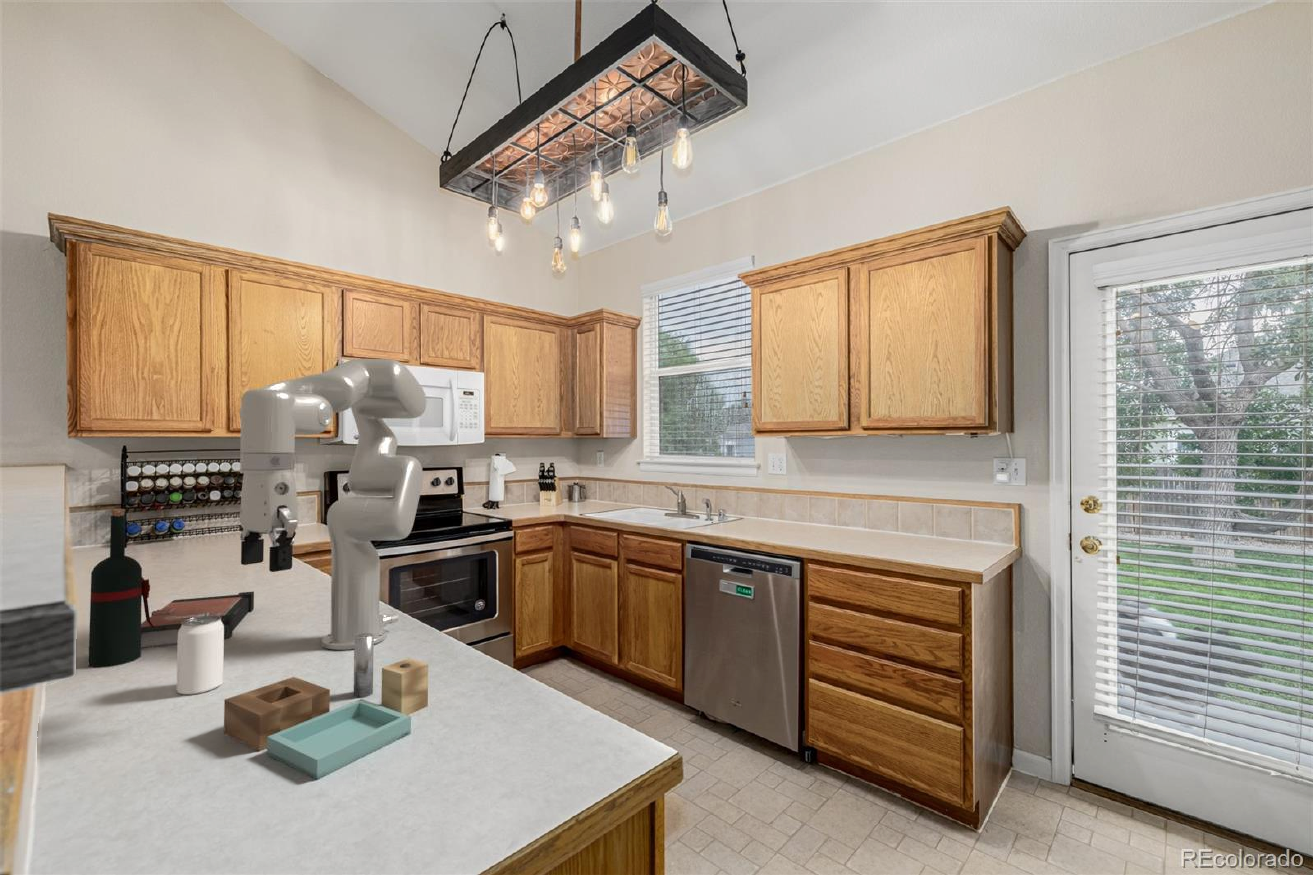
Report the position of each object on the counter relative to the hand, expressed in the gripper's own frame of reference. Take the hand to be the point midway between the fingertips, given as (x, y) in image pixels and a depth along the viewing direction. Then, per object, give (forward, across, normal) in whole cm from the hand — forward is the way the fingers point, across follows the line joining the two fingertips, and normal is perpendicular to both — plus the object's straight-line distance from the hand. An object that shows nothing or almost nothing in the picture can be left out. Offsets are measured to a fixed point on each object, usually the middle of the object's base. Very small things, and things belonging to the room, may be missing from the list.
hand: (266, 566), depth 96 cm
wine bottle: (+23, +47, +5) cm, 52 cm away
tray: (+23, -23, 0) cm, 32 cm away
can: (+23, +17, +3) cm, 29 cm away
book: (+24, +58, -11) cm, 64 cm away
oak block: (+23, -20, -12) cm, 33 cm away
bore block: (+23, -10, +2) cm, 25 cm away
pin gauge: (+23, -10, -12) cm, 27 cm away
